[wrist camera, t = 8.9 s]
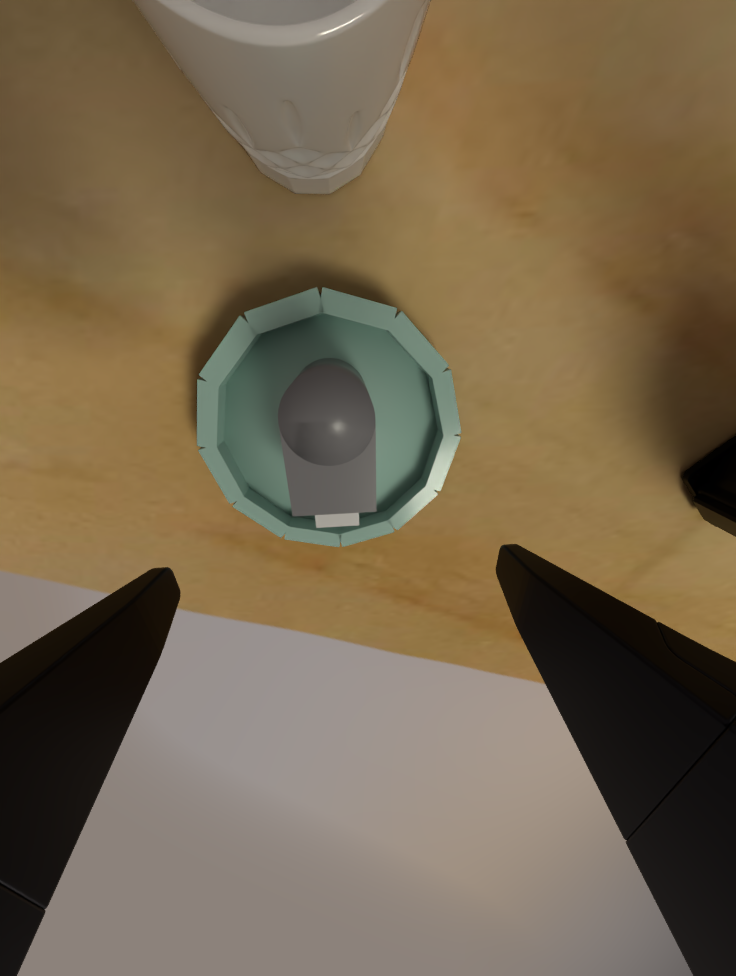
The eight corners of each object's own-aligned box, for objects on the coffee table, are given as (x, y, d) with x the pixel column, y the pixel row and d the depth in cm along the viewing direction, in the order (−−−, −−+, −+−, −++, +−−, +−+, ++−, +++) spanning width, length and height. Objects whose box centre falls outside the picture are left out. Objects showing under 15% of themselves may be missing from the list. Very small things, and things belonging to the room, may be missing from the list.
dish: (316, 222, 15) (313, 209, 13) (494, 423, 20) (507, 432, 18) (162, 439, 19) (145, 450, 17) (343, 561, 24) (343, 578, 22)
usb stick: (289, 359, 17) (270, 372, 12) (366, 356, 17) (374, 368, 12) (307, 501, 21) (297, 550, 16) (369, 497, 21) (376, 545, 16)
